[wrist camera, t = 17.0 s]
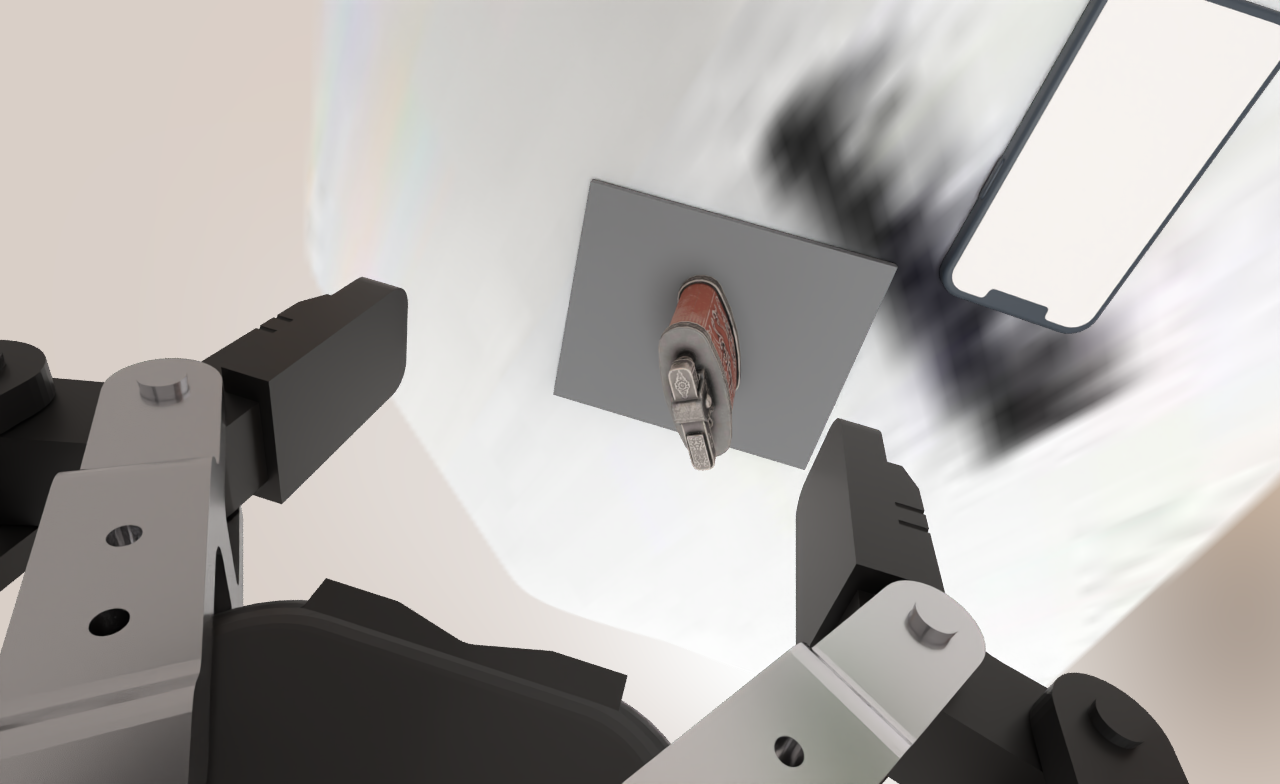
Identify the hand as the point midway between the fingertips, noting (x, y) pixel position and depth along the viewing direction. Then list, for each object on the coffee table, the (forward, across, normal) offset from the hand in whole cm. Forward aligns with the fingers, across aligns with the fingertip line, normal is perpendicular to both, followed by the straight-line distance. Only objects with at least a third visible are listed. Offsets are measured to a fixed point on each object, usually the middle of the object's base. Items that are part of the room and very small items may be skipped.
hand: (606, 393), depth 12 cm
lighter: (+28, -2, +12) cm, 30 cm away
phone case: (+29, -18, -3) cm, 34 cm away
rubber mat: (+28, -2, +12) cm, 31 cm away
